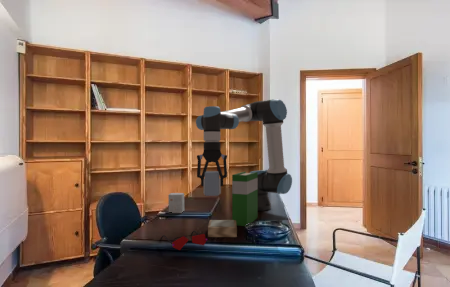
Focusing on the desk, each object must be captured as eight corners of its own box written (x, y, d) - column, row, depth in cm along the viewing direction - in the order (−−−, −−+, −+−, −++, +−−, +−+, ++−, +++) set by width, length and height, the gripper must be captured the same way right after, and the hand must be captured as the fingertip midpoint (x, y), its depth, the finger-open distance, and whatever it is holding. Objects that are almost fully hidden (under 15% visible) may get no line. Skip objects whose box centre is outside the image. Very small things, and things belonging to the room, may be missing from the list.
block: (219, 193, 134) (219, 171, 134) (218, 195, 128) (218, 172, 128) (206, 193, 134) (206, 171, 134) (204, 195, 128) (204, 172, 128)
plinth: (236, 228, 135) (236, 219, 135) (236, 237, 123) (236, 226, 123) (209, 228, 135) (209, 219, 135) (208, 237, 123) (207, 226, 123)
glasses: (172, 252, 106) (172, 238, 106) (160, 239, 121) (160, 227, 121) (207, 246, 113) (207, 233, 113) (192, 234, 127) (192, 222, 127)
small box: (184, 211, 171) (184, 192, 171) (182, 213, 165) (182, 194, 165) (171, 210, 171) (171, 192, 171) (168, 213, 166) (168, 194, 166)
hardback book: (244, 216, 158) (244, 171, 158) (257, 217, 155) (257, 172, 155) (232, 224, 141) (232, 174, 142) (247, 226, 139) (246, 175, 139)
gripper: (233, 141, 135) (233, 192, 135) (192, 141, 135) (192, 192, 135) (233, 141, 127) (233, 195, 127) (189, 141, 128) (189, 194, 128)
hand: (212, 193), depth 131 cm, fingers closed on block, 6 cm apart
